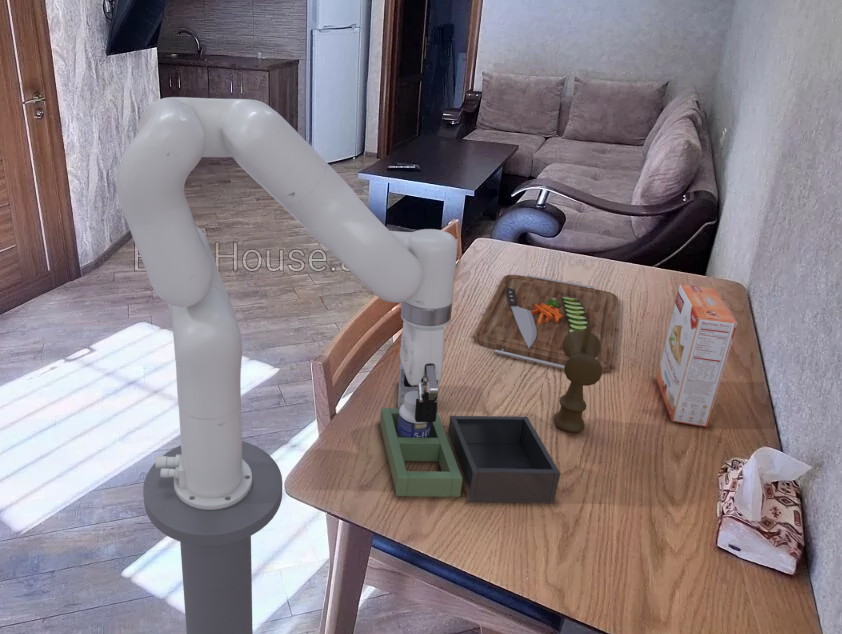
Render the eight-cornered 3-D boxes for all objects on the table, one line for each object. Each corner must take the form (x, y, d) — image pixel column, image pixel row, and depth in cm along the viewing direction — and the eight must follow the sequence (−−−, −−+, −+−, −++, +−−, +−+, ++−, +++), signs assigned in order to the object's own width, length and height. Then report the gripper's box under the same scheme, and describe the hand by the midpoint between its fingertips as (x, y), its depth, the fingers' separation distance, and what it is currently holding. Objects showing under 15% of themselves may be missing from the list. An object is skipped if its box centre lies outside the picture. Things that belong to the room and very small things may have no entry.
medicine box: (422, 411, 117) (426, 370, 114) (396, 408, 118) (400, 367, 114) (422, 387, 124) (426, 348, 121) (398, 384, 125) (402, 345, 122)
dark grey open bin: (468, 502, 96) (472, 472, 94) (446, 443, 108) (450, 415, 106) (554, 503, 96) (560, 473, 93) (522, 444, 108) (527, 416, 106)
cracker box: (653, 380, 126) (678, 282, 118) (689, 386, 124) (716, 287, 116) (668, 422, 114) (697, 315, 106) (707, 429, 112) (740, 321, 104)
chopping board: (608, 382, 125) (611, 368, 124) (468, 348, 137) (469, 336, 136) (618, 294, 162) (620, 283, 161) (506, 274, 174) (508, 263, 173)
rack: (396, 496, 97) (398, 477, 96) (379, 424, 113) (381, 407, 112) (460, 497, 97) (462, 478, 96) (434, 425, 113) (436, 408, 112)
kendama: (585, 414, 116) (607, 314, 108) (588, 446, 108) (611, 341, 100) (549, 406, 118) (568, 308, 110) (549, 437, 110) (569, 334, 102)
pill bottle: (414, 456, 105) (419, 411, 102) (389, 441, 109) (393, 396, 106) (434, 443, 108) (440, 398, 105) (409, 428, 112) (414, 384, 109)
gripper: (392, 286, 108) (387, 374, 114) (412, 337, 92) (405, 436, 98) (438, 285, 107) (430, 373, 114) (465, 336, 91) (455, 436, 98)
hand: (418, 402), depth 106 cm, fingers open, 9 cm apart
